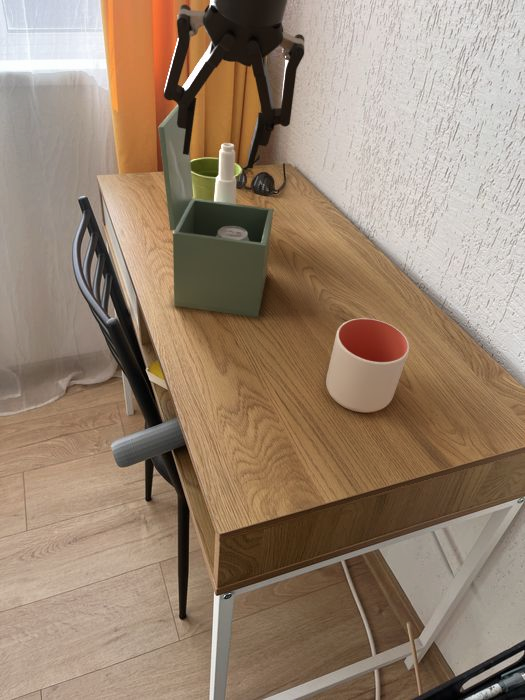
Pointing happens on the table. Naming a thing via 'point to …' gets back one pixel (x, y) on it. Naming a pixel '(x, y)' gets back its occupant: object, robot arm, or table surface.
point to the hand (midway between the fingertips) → (218, 154)
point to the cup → (366, 364)
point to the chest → (221, 258)
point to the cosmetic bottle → (226, 175)
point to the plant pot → (207, 177)
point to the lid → (175, 168)
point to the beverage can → (233, 233)
